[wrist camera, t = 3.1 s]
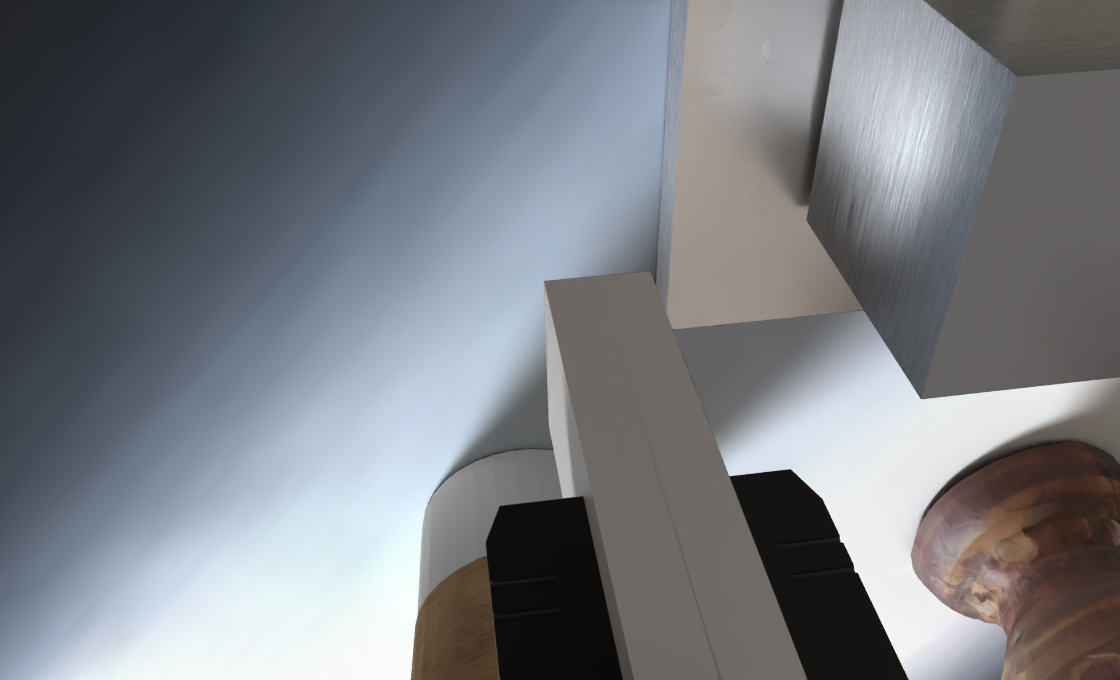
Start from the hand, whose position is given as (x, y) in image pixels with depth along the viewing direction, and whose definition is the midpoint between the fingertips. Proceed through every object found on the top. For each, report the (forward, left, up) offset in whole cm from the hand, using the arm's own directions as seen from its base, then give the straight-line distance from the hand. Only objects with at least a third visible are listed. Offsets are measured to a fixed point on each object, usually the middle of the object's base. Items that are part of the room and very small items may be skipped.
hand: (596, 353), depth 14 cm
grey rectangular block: (-2, +9, -7) cm, 11 cm away
